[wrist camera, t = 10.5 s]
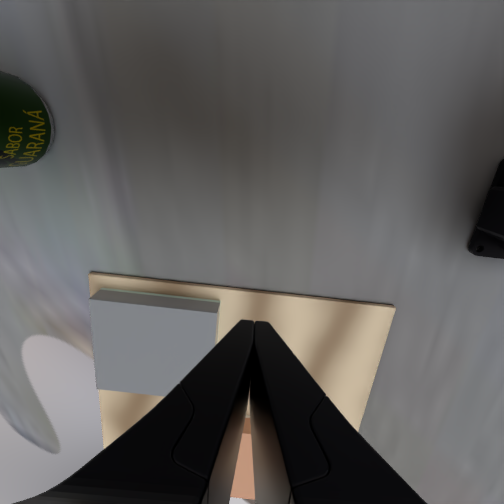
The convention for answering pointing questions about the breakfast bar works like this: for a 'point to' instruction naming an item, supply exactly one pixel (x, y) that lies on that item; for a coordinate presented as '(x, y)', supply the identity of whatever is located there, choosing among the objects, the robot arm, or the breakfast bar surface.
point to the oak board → (290, 330)
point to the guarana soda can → (22, 123)
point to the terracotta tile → (244, 466)
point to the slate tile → (149, 339)
